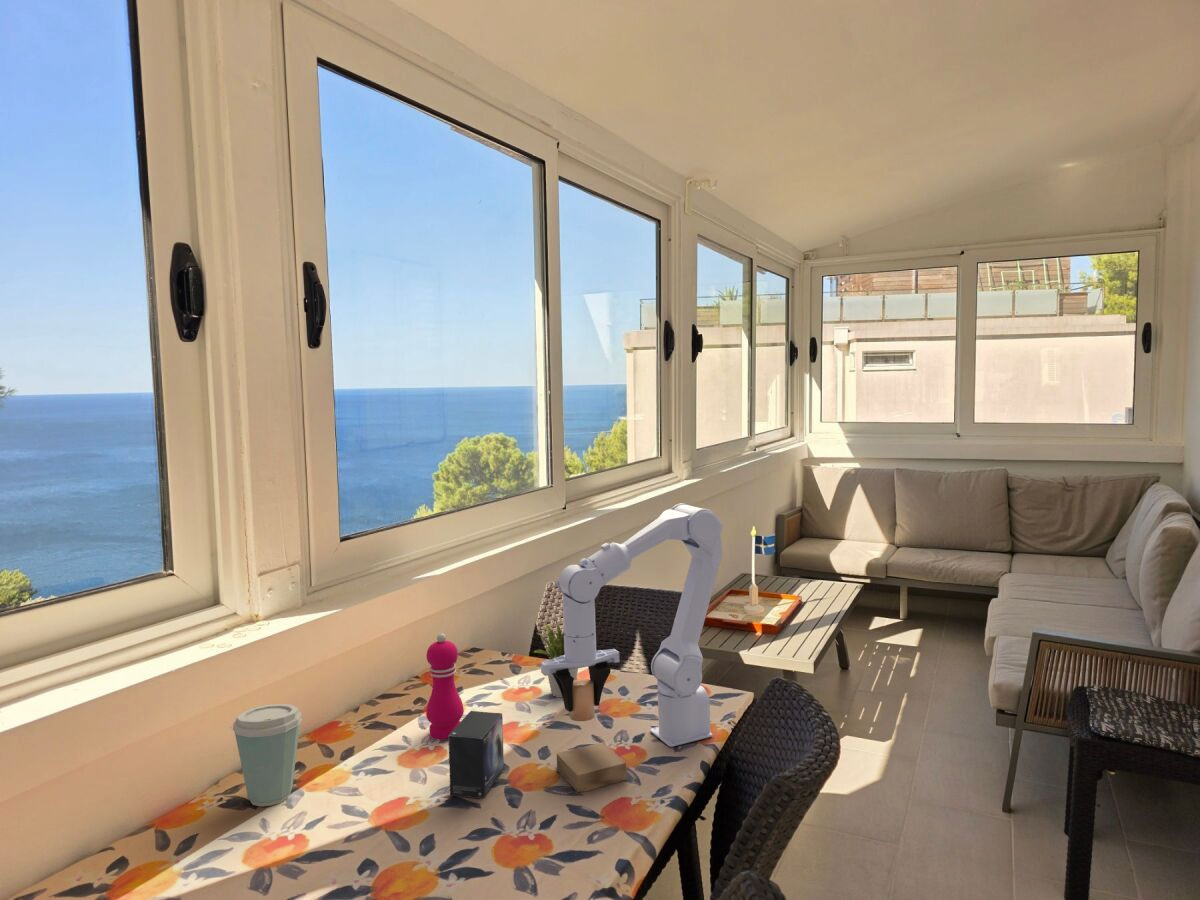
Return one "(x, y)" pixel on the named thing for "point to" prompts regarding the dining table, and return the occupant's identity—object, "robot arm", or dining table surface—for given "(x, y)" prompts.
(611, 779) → the tan square base block
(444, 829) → the dining table surface
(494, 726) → the small box
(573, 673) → the house plant
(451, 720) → the pepper mill
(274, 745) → the disposable coffee cup
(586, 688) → the peach domed cylinder
